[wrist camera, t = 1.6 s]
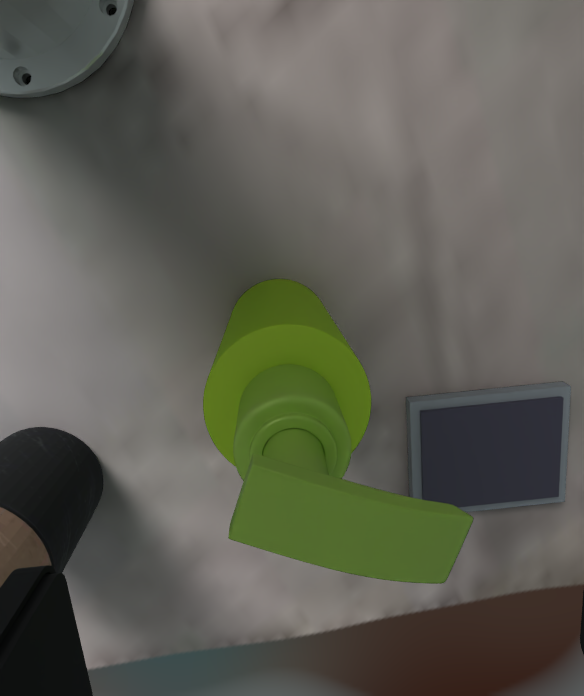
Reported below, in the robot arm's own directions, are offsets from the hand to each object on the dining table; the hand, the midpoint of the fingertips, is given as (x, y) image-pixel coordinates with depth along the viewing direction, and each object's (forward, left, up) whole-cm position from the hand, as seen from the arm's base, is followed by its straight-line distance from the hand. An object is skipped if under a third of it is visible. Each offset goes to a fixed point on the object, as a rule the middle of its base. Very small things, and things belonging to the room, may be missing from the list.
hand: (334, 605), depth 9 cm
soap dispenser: (0, 0, -22) cm, 22 cm away
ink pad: (+9, +12, -22) cm, 27 cm away
